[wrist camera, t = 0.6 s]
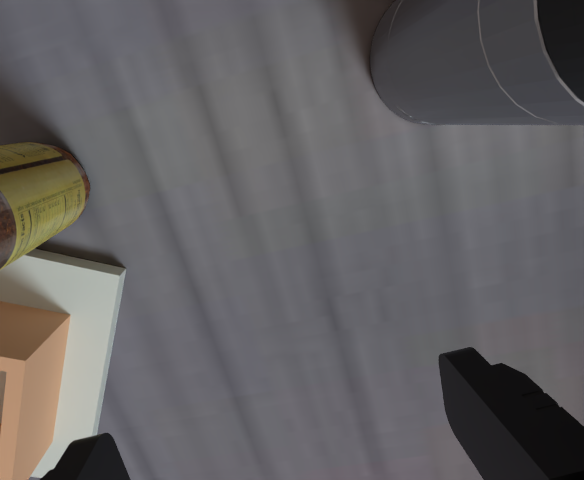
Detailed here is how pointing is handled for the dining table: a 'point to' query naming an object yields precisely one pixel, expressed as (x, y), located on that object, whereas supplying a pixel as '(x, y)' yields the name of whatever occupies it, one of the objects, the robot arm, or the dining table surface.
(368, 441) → the dining table surface
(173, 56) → the dining table surface
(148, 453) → the dining table surface
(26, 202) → the sauce bottle
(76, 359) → the box on white base
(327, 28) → the dining table surface
